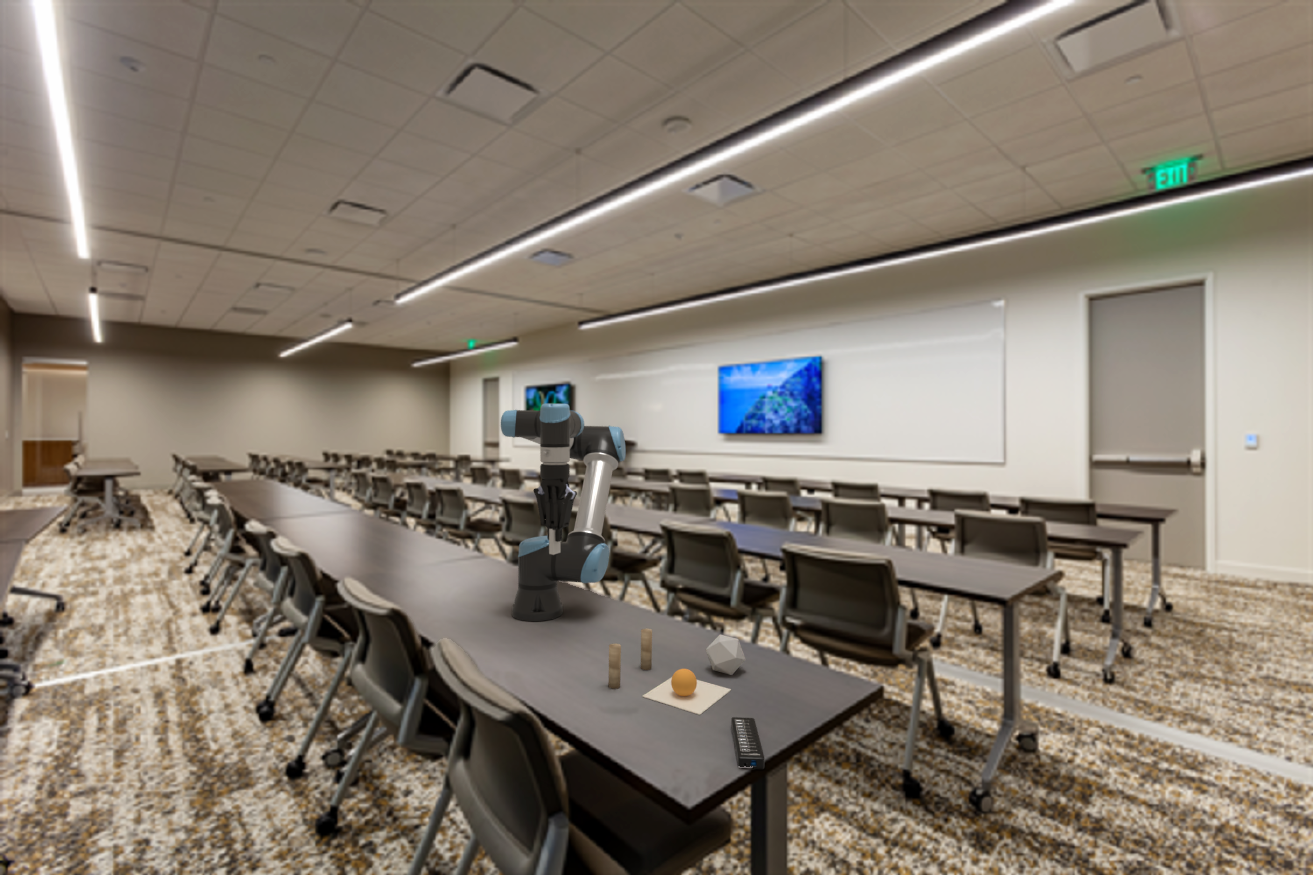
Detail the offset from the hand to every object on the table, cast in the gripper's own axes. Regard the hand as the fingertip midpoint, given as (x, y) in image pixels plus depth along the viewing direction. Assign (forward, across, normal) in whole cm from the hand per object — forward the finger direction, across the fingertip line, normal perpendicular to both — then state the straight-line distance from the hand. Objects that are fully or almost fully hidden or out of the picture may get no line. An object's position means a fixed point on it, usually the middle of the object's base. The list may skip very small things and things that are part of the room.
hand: (554, 553), depth 158 cm
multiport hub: (+23, +63, -21) cm, 70 cm away
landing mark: (+23, +44, -8) cm, 50 cm away
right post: (+24, +29, -1) cm, 37 cm away
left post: (+23, +28, -13) cm, 39 cm away
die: (+24, +45, +8) cm, 52 cm away
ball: (+20, +43, -9) cm, 49 cm away
